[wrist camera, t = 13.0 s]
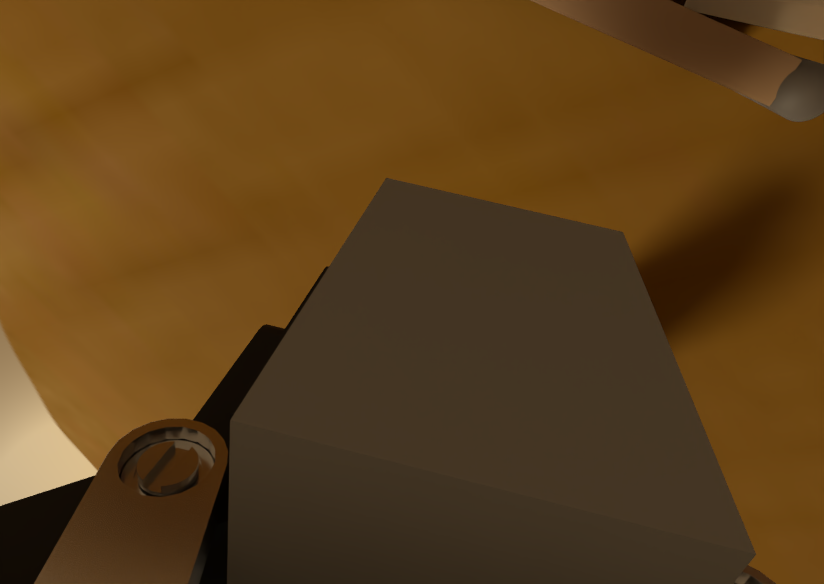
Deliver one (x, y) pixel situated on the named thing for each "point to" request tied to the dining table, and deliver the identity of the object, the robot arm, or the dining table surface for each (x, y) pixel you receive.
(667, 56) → the door
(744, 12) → the wall
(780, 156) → the dining table surface
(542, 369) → the block
